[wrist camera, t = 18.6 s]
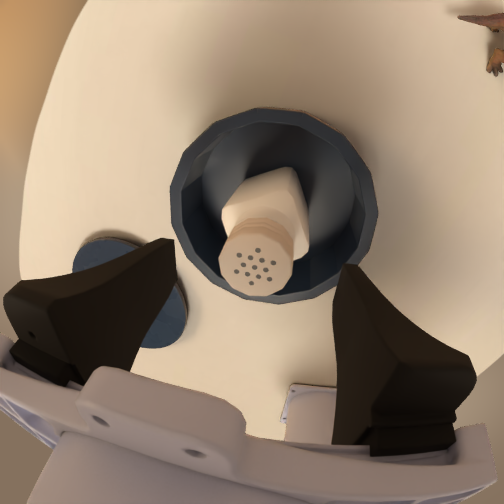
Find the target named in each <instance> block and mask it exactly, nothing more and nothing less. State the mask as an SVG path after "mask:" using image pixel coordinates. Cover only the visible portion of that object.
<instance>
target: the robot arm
mask: <svg viewBox="0 0 504 504" xmlns="http://www.w3.org/2000/svg"><path fill="white" fill-rule="evenodd" d="M176 280H177V271H176V258H175V245H174V240H173V239H166V238H160V239H157V240H154V241H152V242H150V243H148V244H145V245H143V246H141V247H139V248H137V249H135V250H133V251H131V252H128V253H126V254H124V255H122V256H120V257H117V258H115V259H113V260H110V261H108V262H106V263H103V264H100V265H98V266H95V267H92V268H89V269H86V270H82V271H78V272H74V273H71V274H67V275H62V276H57V277H51V278H44V279H33V280H21V281H20V282H19V283H17V284H16V285H15V286H14V287H13V288H12V289H11V290H10V291H9V292H8V293H6V294H5V296H4V297H3V305H4V309H5V312H6V314H7V316H8V319H9V321H10V323H11V325H12V327H13V328H14V330H15V332H16V334H17V336H18V338H19V339H18V340H17V342H16V343H14V342H13V341H12V340H11V339H10V338H9V337H7V336H5V335H4V334H2V333H1V332H0V410H2V411H3V412H4V413H5V414H7V415H8V416H9V417H10V418H11V419H13V420H14V421H15V422H16V423H18V424H19V425H20V426H21V427H23V428H24V429H25V430H27V431H28V432H29V433H31V434H32V435H34V436H35V437H36V438H38V439H39V440H40V441H42V442H43V443H44V444H46V445H47V446H49V447H50V448H52V449H53V452H52V454H51V456H50V458H49V460H48V461H47V463H46V465H45V467H44V469H43V471H42V473H41V475H40V477H39V479H38V481H37V483H36V485H35V486H34V489H33V490H32V493H31V495H30V497H29V499H28V501H27V503H26V504H457V503H459V502H461V501H463V500H465V499H467V498H469V497H471V496H473V495H474V494H476V493H478V492H479V491H481V490H483V489H485V488H487V487H488V486H490V485H491V484H493V483H495V482H496V481H497V473H496V468H495V463H494V458H493V454H492V449H491V445H490V441H489V437H488V433H487V429H486V426H485V423H480V424H475V425H469V426H464V427H460V428H458V429H456V430H455V431H454V428H453V423H454V422H455V421H456V419H457V418H456V414H455V410H456V409H457V408H458V407H459V406H460V405H461V403H462V402H463V401H464V400H465V399H466V398H467V396H468V395H469V394H470V393H471V391H472V390H473V388H474V386H475V384H476V381H477V379H476V378H477V376H476V373H475V370H474V368H473V365H472V363H471V360H470V358H469V356H468V355H466V354H464V353H462V352H460V351H458V350H456V349H454V348H451V347H449V346H447V345H446V344H444V343H442V342H441V341H439V340H437V339H435V338H434V337H432V336H431V335H429V334H428V333H426V332H425V331H423V330H422V329H421V328H419V327H418V326H417V325H415V324H414V323H413V322H411V321H410V320H409V319H408V318H407V317H405V316H404V315H403V314H402V313H401V312H400V311H399V310H398V309H396V308H395V307H394V306H393V305H392V304H391V303H390V301H389V300H388V299H387V298H386V297H385V296H384V295H383V294H382V293H381V292H380V291H379V290H378V288H377V287H376V286H375V285H374V284H373V283H372V281H371V280H370V279H369V278H368V277H367V275H366V274H365V273H364V272H363V271H362V270H361V268H360V267H359V266H358V265H355V264H348V263H343V265H342V269H341V273H340V277H339V281H338V284H337V288H336V292H335V295H334V299H333V310H332V323H333V333H334V342H335V351H336V361H337V388H329V387H318V386H308V385H299V384H292V385H291V386H290V389H289V392H288V396H287V399H286V402H285V406H284V409H283V412H282V415H281V419H280V422H281V423H285V424H286V430H285V438H284V441H280V440H272V439H265V438H258V437H255V436H252V435H248V434H246V433H245V431H246V421H245V419H244V417H243V415H242V412H241V411H240V410H239V409H237V408H236V407H234V406H233V405H231V404H230V403H229V402H227V401H226V400H224V399H221V398H218V397H215V396H213V395H210V394H207V393H204V392H200V391H195V390H191V389H187V388H183V387H179V386H175V385H172V384H168V383H164V382H161V381H157V380H154V379H150V378H147V377H144V376H141V375H137V374H134V373H131V372H130V370H131V368H132V365H133V363H134V360H135V357H136V355H137V353H138V350H139V348H140V346H141V344H142V341H143V339H144V337H145V336H146V334H147V332H148V330H149V329H150V327H151V325H152V324H153V322H154V321H155V319H156V317H157V316H158V314H159V313H160V311H161V309H162V308H163V306H164V305H165V303H166V301H167V300H168V298H169V296H170V294H171V292H172V290H173V288H174V285H175V283H176Z"/></svg>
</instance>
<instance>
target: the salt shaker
mask: <svg viewBox="0 0 504 504" xmlns="http://www.w3.org/2000/svg"><path fill="white" fill-rule="evenodd" d="M222 222H223V225H224V228H225V231H226V233H227V236H228V239H227V241H226V243H225V245H224V247H223V249H222V251H221V253H220V256H219V258H218V259H219V264H220V270H221V275H222V276H223V277H224V278H225V280H226V281H227V282H228V283H229V284H230V286H231V287H232V288H233V289H235V290H238V291H240V292H242V293H244V294H246V295H248V296H268V295H270V294H273V293H275V292H277V291H279V290H281V289H283V288H284V286H285V284H286V283H287V281H288V280H289V278H290V277H291V275H292V268H293V260H296V259H299V258H301V257H303V256H304V255H305V254H306V253H307V252H308V249H309V209H308V206H307V203H306V200H305V197H304V194H303V191H302V188H301V185H300V182H299V179H298V176H297V173H296V171H295V170H294V169H293V168H292V167H282V168H279V169H275V170H272V171H269V172H266V173H263V174H259V175H256V176H253V177H250V178H247V179H245V180H244V181H243V182H242V183H241V184H240V185H239V187H238V188H237V190H236V191H235V192H234V194H233V195H232V196H231V198H230V199H229V200H228V202H227V203H226V205H225V206H224V207H223V209H222Z"/></svg>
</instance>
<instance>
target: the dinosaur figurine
mask: <svg viewBox="0 0 504 504" xmlns="http://www.w3.org/2000/svg"><path fill="white" fill-rule="evenodd" d="M458 19H461V20H464V21H467V22H471V23H475V24H478V25H482V26H487V27H490V28H491V31H492V32H494V31H495V32H497V33H498V32H499V30H498V29H500V30H502V31H504V13H498V14H492V15H488V16H483V15H482V16H476V15H472V16H458ZM489 61H490V62H489V63H488V65H487V72H488V73H491V71H492V70H493V73H494V76H498V71H499V72H500V73H502V72H503V69H502V67H501V62H502V63H504V50H501V49H499V48H496V49H494V54H493V56H492V58H490V60H489Z"/></svg>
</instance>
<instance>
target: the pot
mask: <svg viewBox="0 0 504 504" xmlns="http://www.w3.org/2000/svg"><path fill="white" fill-rule="evenodd" d="M282 167H292V168H293V169H294V170H295V171H296V173H297V176H298V179H299V182H300V185H301V188H302V191H303V194H304V197H305V200H306V203H307V206H308V209H309V249H308V252H307V253H306V254H305V255H304V256H303V257H301V258H299V259H296V260H293V268H292V275H291V277H290V278H289V280H288V281H287V283H286V284H285V286H284V288H283V289H281V290H279V291H277V292H275V293H273V294H270V295H268V296H248V295H246V294H244V293H242V292H240V291H238V290H235V289H233V288H232V287H231V286H230V284H229V283H228V282H227V281H226V280H225V278H224V277H223V276H222V275H221V270H220V264H219V259H218V258H219V256H220V253H221V251H222V249H223V247H224V245H225V243H226V241H227V239H228V236H227V233H226V231H225V228H224V225H223V222H222V209H223V207H224V206H225V205H226V203H227V202H228V200H229V199H230V198H231V196H232V195H233V194H234V192H235V191H236V190H237V188H238V187H239V185H240V184H241V183H242V182H243V181H244V180H245V179H247V178H250V177H253V176H256V175H259V174H263V173H266V172H269V171H272V170H275V169H279V168H282ZM170 205H171V224H172V227H173V229H174V231H175V233H176V235H177V238H178V240H179V242H180V244H181V246H182V249H183V251H184V253H185V255H186V257H187V258H188V259H189V260H190V261H191V262H192V263H193V264H194V265H195V266H196V267H197V268H198V269H199V270H200V271H201V272H202V274H203V275H204V276H205V277H206V278H207V279H208V280H209V281H210V282H212V283H213V284H215V285H217V286H219V287H221V288H223V289H225V290H227V291H229V292H231V293H233V294H235V295H237V296H239V297H241V298H243V299H246V300H253V301H259V302H266V303H273V304H285V303H290V302H296V301H302V300H307V299H312V298H315V297H317V296H319V295H321V294H323V293H324V292H326V291H328V290H330V289H331V288H333V287H335V286H337V284H338V281H339V277H340V273H341V269H342V265H343V263H348V264H355V265H358V264H359V263H360V262H361V260H362V259H363V258H364V257H365V255H366V254H367V253H368V251H369V249H370V246H371V242H372V238H373V234H374V230H375V226H376V222H377V218H378V207H377V201H376V196H375V191H374V185H373V180H372V176H371V173H370V170H369V169H368V167H367V166H366V165H365V163H364V162H363V160H362V159H361V157H360V156H359V155H358V153H357V152H356V150H355V149H354V148H353V146H352V145H351V144H350V142H349V141H348V140H347V138H346V137H345V136H344V135H343V134H342V133H340V132H339V131H338V130H337V129H335V128H334V127H332V126H330V125H329V124H327V123H325V122H323V121H322V120H320V119H318V118H316V117H314V116H313V115H311V114H309V113H307V112H305V111H302V110H295V109H286V108H275V107H260V108H254V109H251V110H248V111H245V112H242V113H239V114H236V115H233V116H230V117H227V118H224V119H222V120H219V121H216V122H214V123H213V124H212V125H211V126H209V127H208V128H207V129H206V130H205V131H204V132H203V133H202V134H201V135H200V136H199V137H198V138H197V139H196V140H195V141H194V142H193V143H192V144H191V145H190V146H189V147H188V148H187V149H186V150H185V151H184V152H183V154H182V157H181V159H180V162H179V164H178V167H177V170H176V172H175V175H174V177H173V180H172V183H171V185H170Z"/></svg>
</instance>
